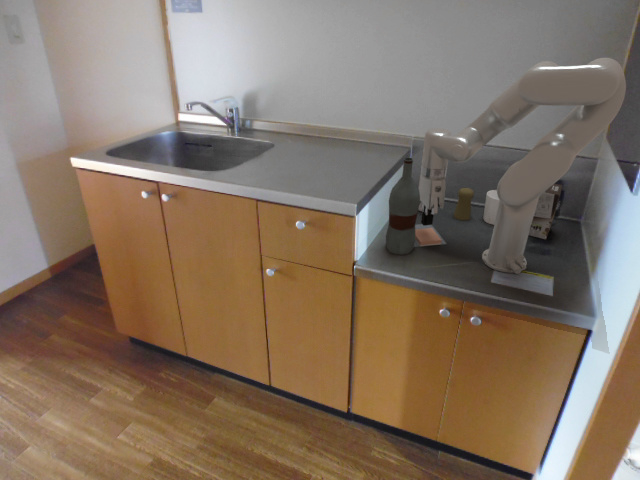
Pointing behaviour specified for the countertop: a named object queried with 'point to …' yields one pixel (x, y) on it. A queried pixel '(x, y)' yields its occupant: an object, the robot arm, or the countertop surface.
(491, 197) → the white cup
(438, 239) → the tile
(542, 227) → the coffee box
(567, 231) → the countertop surface
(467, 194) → the cork
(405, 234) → the bottle
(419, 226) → the mat
